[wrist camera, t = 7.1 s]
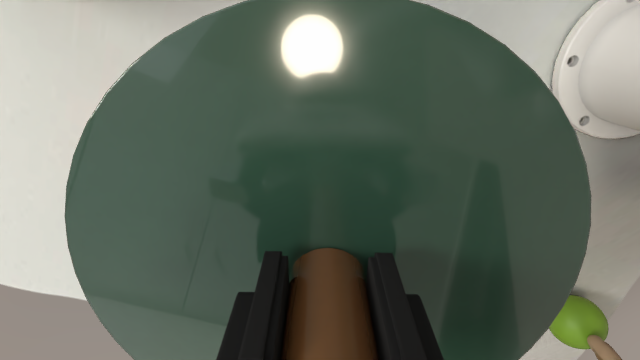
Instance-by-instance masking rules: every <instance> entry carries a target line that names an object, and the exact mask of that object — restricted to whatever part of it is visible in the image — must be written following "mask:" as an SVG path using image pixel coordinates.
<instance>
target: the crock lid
mask: <svg viewBox="0 0 640 360" xmlns="http://www.w3.org/2000/svg"><path fill="white" fill-rule="evenodd" d="M65 223H66V233H67V242H68V248H69V252H70V255H71V259H72V263H73V267H74V270H75V274H76V276H77V278H78V281H79V283H80V285H81V288H82V290H83V292H84V294H85V297H86V299H87V301H88V302H89V304H90V306H91V307H92V309H93V310H94V312H95V314H96V315H97V317H98V319H99V320H100V322H101V323H102V324H103V326H104V327H105V328H106V329H107V331H108V332H109V333H110V335H111V336H112V337H113V338H114V340H115V341H116V342H117V343H118V344H119V345H120V346H121V347H122V348H123V349H124V350H125V351H126V352H127V353H128V354H129V355H130V356H131V357H132V358H133V359H134V360H216V359H217V356H218V352H219V349H220V346H221V343H222V340H223V337H224V334H225V330H226V327H227V324H228V321H229V318H230V315H231V312H232V308H233V305H234V302H235V299H236V296H237V294H238V292H255V289H256V285H257V281H258V277H259V273H260V269H261V265H262V261H263V257H264V253H265V251H282V256H288V261H289V289H288V297H287V305H286V313H285V321H284V329H283V337H282V345H281V353H280V360H380V356H379V351H378V345H377V340H376V334H375V329H374V323H373V318H372V312H371V307H370V301H369V296H368V290H367V285H366V278H367V268H368V259H369V257H374V255H375V253H392V254H393V256H394V259H395V262H396V265H397V268H398V272H399V275H400V278H401V281H402V284H403V287H404V290H405V293H406V294H418V295H419V296H420V298H421V300H422V303H423V305H424V308H425V311H426V313H427V316H428V319H429V321H430V324H431V327H432V329H433V332H434V335H435V337H436V340H437V343H438V345H439V348H440V351H441V353H442V356H443V358H444V360H519V359H520V358H521V357H522V356H523V355H524V354H525V353H526V352H528V351H529V350H530V349H531V348H532V347H533V346H534V344H535V343H536V342H537V341H538V340H539V339H540V337H541V336H542V335H543V334H544V333H545V332H546V331H547V329H548V328H549V327H550V326H551V324H552V323H553V321H554V320H555V318H556V317H557V315H558V314H559V312H560V311H561V309H562V308H563V306H564V305H565V303H566V301H567V299H568V297H569V295H570V293H571V291H572V289H573V287H574V285H575V283H576V281H577V278H578V275H579V272H580V269H581V266H582V263H583V260H584V257H585V254H586V249H587V243H588V238H589V232H590V226H591V191H590V185H589V178H588V172H587V165H586V162H585V159H584V156H583V153H582V150H581V147H580V144H579V141H578V138H577V135H576V132H575V130H574V128H573V127H572V125H571V123H570V121H569V119H568V118H567V116H566V114H565V112H564V110H563V108H562V107H561V105H560V103H559V101H558V100H557V98H556V97H555V96H554V95H553V93H552V92H551V91H550V90H549V88H548V87H547V86H546V85H545V83H544V82H543V81H542V80H541V78H540V77H539V76H538V75H537V73H536V72H535V71H534V70H533V69H532V68H531V67H529V66H528V65H527V64H526V63H525V62H524V61H523V60H522V59H520V58H519V57H518V56H517V55H516V54H515V53H514V52H513V51H511V50H510V49H509V48H508V47H507V46H506V45H505V44H503V43H501V42H500V41H498V40H497V39H495V38H494V37H492V36H490V35H489V34H487V33H486V32H484V31H482V30H481V29H479V28H478V27H476V26H474V25H473V24H471V23H470V22H468V21H465V20H463V19H461V18H458V17H456V16H454V15H451V14H449V13H447V12H444V11H442V10H439V9H437V8H435V7H432V6H430V5H427V4H423V3H420V2H416V1H412V0H246V1H243V2H240V3H237V4H235V5H232V6H229V7H227V8H224V9H221V10H219V11H216V12H213V13H211V14H208V15H205V16H203V17H201V18H199V19H197V20H195V21H193V22H192V23H190V24H188V25H186V26H185V27H183V28H181V29H179V30H177V31H176V32H174V33H172V34H170V35H169V36H167V37H165V38H164V39H162V40H161V41H160V42H159V43H157V44H156V45H155V46H154V47H152V48H151V49H150V50H148V51H147V52H146V53H145V54H143V55H142V56H141V57H140V58H138V59H137V60H136V61H135V62H133V63H132V64H131V65H130V66H129V68H128V69H127V70H126V71H125V72H124V73H123V74H122V75H121V76H120V78H119V79H118V80H117V81H116V82H115V83H114V84H113V85H112V86H111V88H110V89H109V90H108V91H107V92H106V93H105V95H104V97H103V98H102V100H101V101H100V103H99V104H98V106H97V108H96V109H95V111H94V112H93V114H92V116H91V117H90V119H89V120H88V122H87V124H86V126H85V128H84V131H83V133H82V136H81V138H80V141H79V143H78V145H77V148H76V150H75V153H74V155H73V159H72V164H71V168H70V173H69V177H68V181H67V186H66V203H65Z"/></svg>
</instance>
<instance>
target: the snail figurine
mask: <svg viewBox="0 0 640 360" xmlns="http://www.w3.org/2000/svg"><path fill="white" fill-rule="evenodd" d="M549 329H550V331H551V332H552V334H553V335H554V336H555V337H556V338H557V339H558V340H560V341H561V342H563V343H564V344H566V345H568V346H571V347H574V348H578V349H592V350H593V351H594V352H595V355H596V357H597V359H598V360H622V359H621V358H620V356H619V355H618V354H617V353H616V352H615V351H614V349H613V348H612V347H611V346H610V345H609V344H607V343H606V342H604V340H605V339H606V337H607V334H608V322H607V319H606V317H605V315H604V314H603V312H602V311H601V310H600V309H599V307H597V306H596V305H595V304H594V303H592V302H591V301H589V300H587V299H585V298H583V297H579V296H575V295H569V297H568V299H567V301H566V303H565V305H564V306H563V308H562V309H561V311H560V312H559V314H558V315H557V317H556V318H555V320H554V321H553V323H552V324H551V326H550V327H549Z"/></svg>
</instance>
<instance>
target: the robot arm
mask: <svg viewBox="0 0 640 360" xmlns="http://www.w3.org/2000/svg"><path fill="white" fill-rule="evenodd" d="M552 93H553V95H554V96H555V97H556V98H557V100H558V101H559V103H560V105H561V107H562V108H563V110H564V112H565V114H566V116H567V118H568V119H569V121H570V123H571V125H572V127H573V128H574V129H576V130H577V131H580V132H582V133H585V134H587V135H590V136H594V137H597V138H602V139H619V138H626V137H631V136H634V135H637V134H640V0H599V1H598V2H597V3H595V4H594V5H593V6H592V7H591V8H590V9H589V10H588V11H587V12H586V13H585V14H584V15H583V16H582V17H581V18H580V19H579V20H578V22H577V23H576V24H575V26H574V27H573V28H572V30H571V31H570V32H569V34H568V36H567V38H566V39H565V41H564V43H563V45H562V47H561V49H560V51H559V54H558V57H557V60H556V62H555V67H554V72H553V77H552ZM366 285H367V290H368V296H369V301H370V307H371V312H372V318H373V323H374V329H375V334H376V340H377V345H378V351H379V356H380V360H444V358H443V356H442V353H441V351H440V348H439V345H438V343H437V340H436V337H435V335H434V332H433V329H432V327H431V324H430V321H429V319H428V316H427V313H426V311H425V308H424V305H423V303H422V300H421V298H420V296H419V295H418V294H406V293H405V290H404V287H403V284H402V281H401V278H400V275H399V272H398V268H397V265H396V262H395V259H394V256H393V254H392V253H375V255H374V257H369V259H368V268H367V278H366ZM288 289H289V261H288V256H282V251H265V253H264V257H263V261H262V265H261V269H260V273H259V277H258V281H257V285H256V289H255V292H238V294H237V296H236V299H235V302H234V305H233V308H232V312H231V315H230V318H229V321H228V324H227V327H226V330H225V334H224V337H223V340H222V343H221V346H220V349H219V352H218V356H217V359H216V360H280V353H281V345H282V337H283V329H284V321H285V313H286V305H287V297H288Z"/></svg>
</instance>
